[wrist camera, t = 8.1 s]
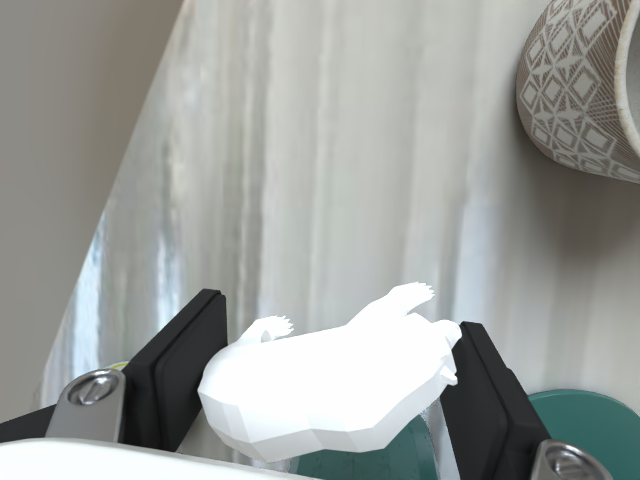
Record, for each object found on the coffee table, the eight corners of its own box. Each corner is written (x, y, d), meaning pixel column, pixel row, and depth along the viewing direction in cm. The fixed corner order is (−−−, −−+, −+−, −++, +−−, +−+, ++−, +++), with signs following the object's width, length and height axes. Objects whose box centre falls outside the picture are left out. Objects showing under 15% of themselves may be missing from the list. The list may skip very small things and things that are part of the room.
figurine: (230, 320, 13) (158, 419, 8) (440, 271, 11) (487, 366, 7) (253, 371, 13) (198, 487, 9) (456, 333, 12) (507, 455, 7)
